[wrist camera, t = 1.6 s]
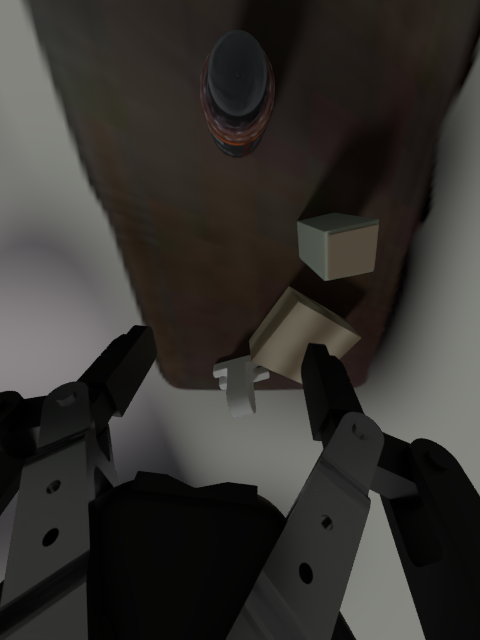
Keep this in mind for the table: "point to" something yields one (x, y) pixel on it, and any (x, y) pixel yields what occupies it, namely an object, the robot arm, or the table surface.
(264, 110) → the supplement bottle
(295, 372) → the beech block
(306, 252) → the sage canister
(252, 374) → the cable organizer
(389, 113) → the table surface
